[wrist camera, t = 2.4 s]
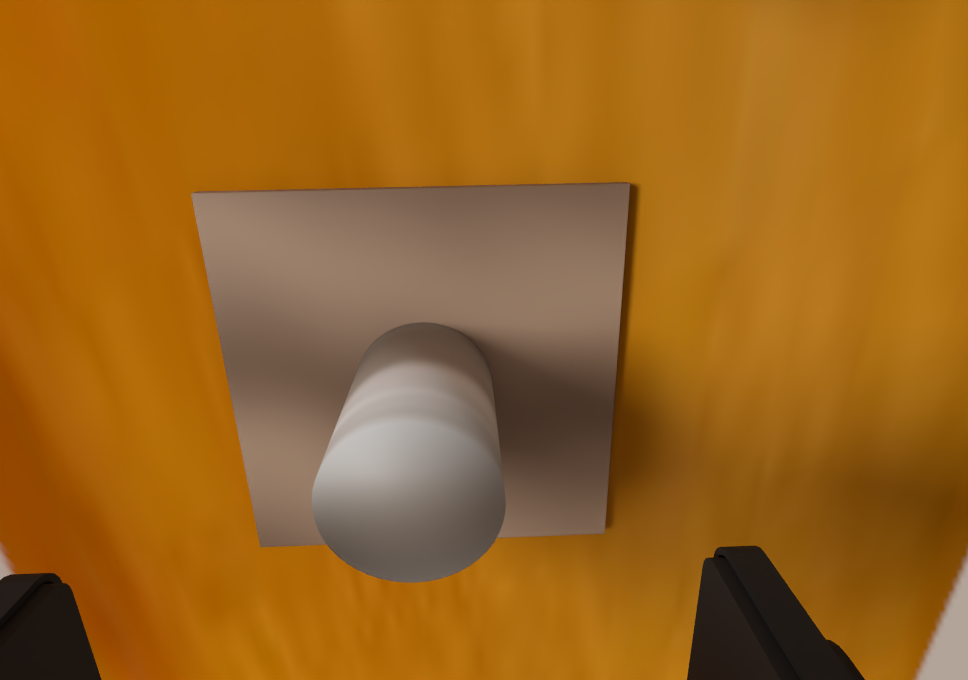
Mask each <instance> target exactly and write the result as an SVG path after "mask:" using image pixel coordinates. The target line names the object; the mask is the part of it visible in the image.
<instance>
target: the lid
mask: <svg viewBox="0 0 968 680" xmlns="http://www.w3.org/2000/svg"><path fill="white" fill-rule="evenodd" d="M629 192H630V183H627V182H612V183H566V184H520V185H475V186H429V187H383V188H337V189H292V190H246V191H200V192H194V193H191V196H192V201H193V206H194V211H195V216H196V221H197V226H198V231H199V236H200V241H201V247H202V252H203V257H204V262H205V267H206V272H207V277H208V282H209V287H210V292H211V297H212V303H213V308H214V313H215V318H216V323H217V328H218V333H219V338H220V343H221V348H222V354H223V359H224V364H225V369H226V374H227V379H228V384H229V389H230V394H231V399H232V404H233V410H234V415H235V420H236V425H237V430H238V435H239V440H240V445H241V450H242V455H243V460H244V466H245V471H246V476H247V481H248V486H249V491H250V496H251V501H252V506H253V511H254V517H255V522H256V527H257V532H258V537H259V542H260V547H275V546H301V545H326V544H327V545H328V546H329V548H330V549H331V550H332V551H333V552H334V553H335V554H336V555H337V556H338V557H339V558H341V559H342V560H343V561H345V562H346V563H347V564H349V565H350V566H352V567H354V568H355V569H357V570H359V571H361V572H364V573H366V574H368V575H371V576H374V577H377V578H380V579H385V580H389V581H396V582H425V581H431V580H436V579H440V578H444V577H447V576H450V575H452V574H455V573H457V572H459V571H461V570H463V569H465V568H466V567H468V566H470V565H471V564H473V563H474V562H475V561H477V560H478V559H479V558H480V557H481V556H482V555H483V554H484V553H486V552H487V550H488V549H489V548H490V547H491V545H492V544H493V543H494V541H495V539H496V538H504V537H529V536H555V535H580V534H605V522H606V508H607V495H608V481H609V467H610V453H611V440H612V426H613V412H614V398H615V385H616V371H617V357H618V343H619V330H620V316H621V302H622V288H623V275H624V261H625V247H626V233H627V220H628V206H629Z"/></svg>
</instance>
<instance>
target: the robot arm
mask: <svg viewBox="0 0 968 680" xmlns="http://www.w3.org/2000/svg"><path fill="white" fill-rule="evenodd" d="M0 680H101V677H100V674H99V671H98V668H97V665H96V662H95V659H94V656H93V653H92V650H91V647H90V644H89V641H88V638H87V635H86V632H85V629H84V626H83V622H82V619H81V616H80V613H79V610H78V607H77V604H76V601H75V598H74V595H73V592H72V590H71V588H70V586H69V585H67V584H66V583H62V581H61V579H60V577H58V576H57V575H56V574H53V573H39V574H13V575H9V576H6V577H4V578H2V579H1V580H0ZM687 680H865V679H864V678H863V676H862V675H861V674H860V672H859V671H858V669H857V668H856V667H855V665H854V664H853V662H852V661H851V660H850V658H849V657H848V656H847V655H846V653H845V652H844V651H843V650H842V649H841V648H840V647H839V646H838V645H837V644H835V643H834V642H832V641H831V640H826V639H825V638H824V637H823V635H822V634H821V632H820V631H819V629H818V628H817V627H816V625H815V624H814V622H813V621H812V619H811V618H810V617H809V615H808V614H807V612H806V611H805V609H804V608H803V607H802V605H801V604H800V602H799V601H798V600H797V598H796V597H795V595H794V594H793V592H792V591H791V590H790V588H789V587H788V585H787V584H786V582H785V581H784V580H783V578H782V577H781V575H780V574H779V572H778V571H777V570H776V568H775V567H774V565H773V564H772V562H771V561H770V560H769V558H768V557H767V555H766V554H765V553H764V551H763V550H762V549H761V548H760V547H757V546H735V547H719V548H717V549H716V551H715V554H714V557H713V558H706V559H705V560H704V563H703V569H702V576H701V583H700V590H699V598H698V605H697V612H696V619H695V626H694V634H693V641H692V648H691V655H690V662H689V669H688V677H687Z"/></svg>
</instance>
